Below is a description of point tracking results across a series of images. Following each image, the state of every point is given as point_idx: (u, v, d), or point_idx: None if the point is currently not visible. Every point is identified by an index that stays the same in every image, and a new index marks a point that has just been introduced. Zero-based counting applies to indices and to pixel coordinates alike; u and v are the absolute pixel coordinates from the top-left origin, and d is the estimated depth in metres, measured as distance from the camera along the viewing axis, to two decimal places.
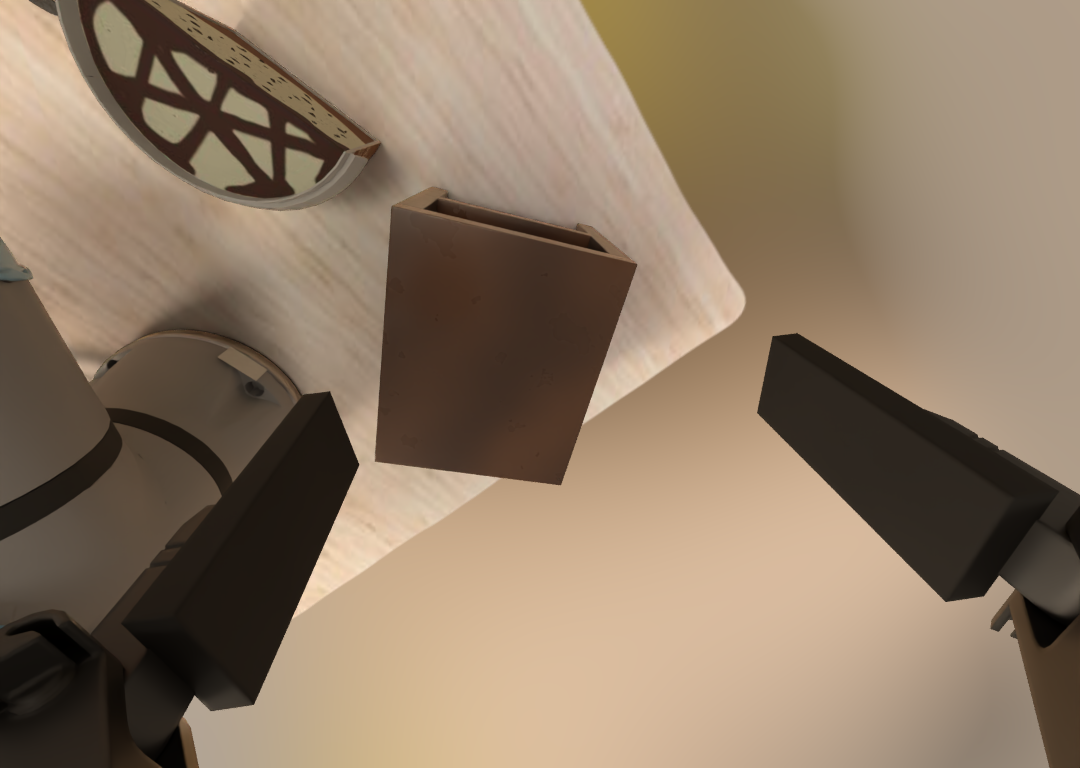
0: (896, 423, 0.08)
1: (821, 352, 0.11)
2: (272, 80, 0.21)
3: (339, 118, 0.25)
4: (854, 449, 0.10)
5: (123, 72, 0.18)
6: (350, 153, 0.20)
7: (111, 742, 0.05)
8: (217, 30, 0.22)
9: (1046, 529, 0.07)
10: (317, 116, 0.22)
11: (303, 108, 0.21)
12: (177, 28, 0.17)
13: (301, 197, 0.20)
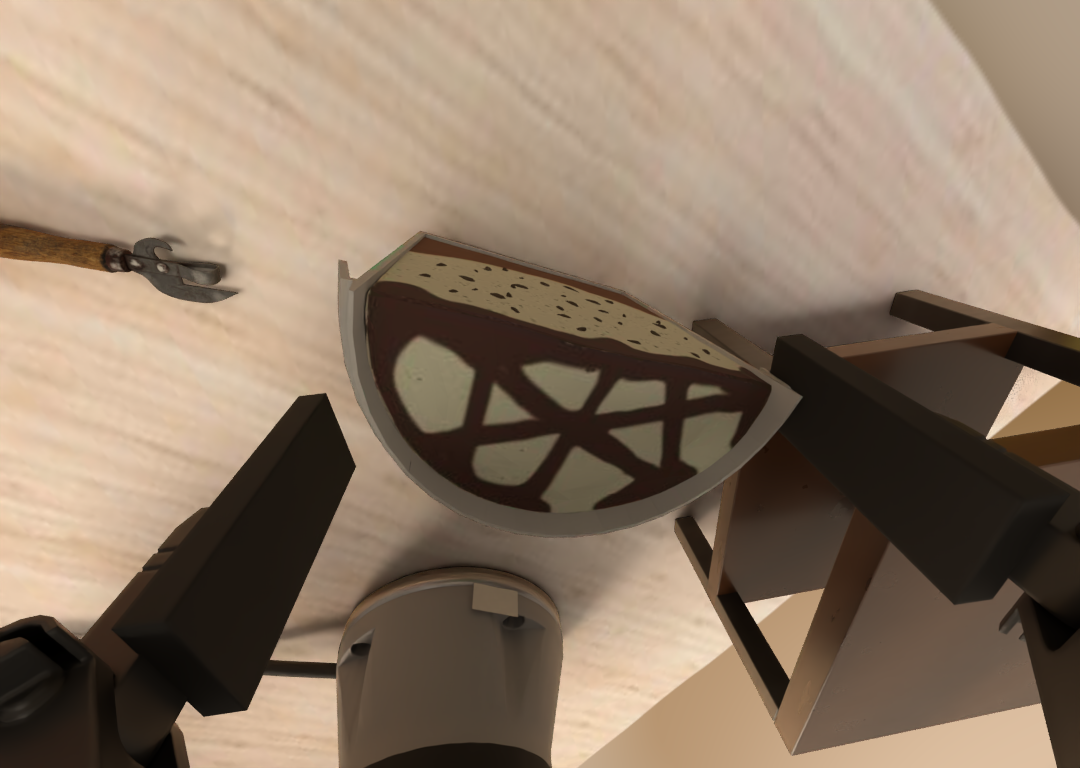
0: (903, 425, 0.08)
1: (826, 353, 0.11)
2: (575, 305, 0.13)
3: (599, 293, 0.17)
4: (860, 451, 0.09)
5: (444, 427, 0.10)
6: (785, 386, 0.12)
7: (100, 749, 0.05)
8: (450, 257, 0.14)
9: (1057, 532, 0.07)
10: (647, 328, 0.14)
11: (643, 331, 0.13)
12: (530, 328, 0.09)
13: None
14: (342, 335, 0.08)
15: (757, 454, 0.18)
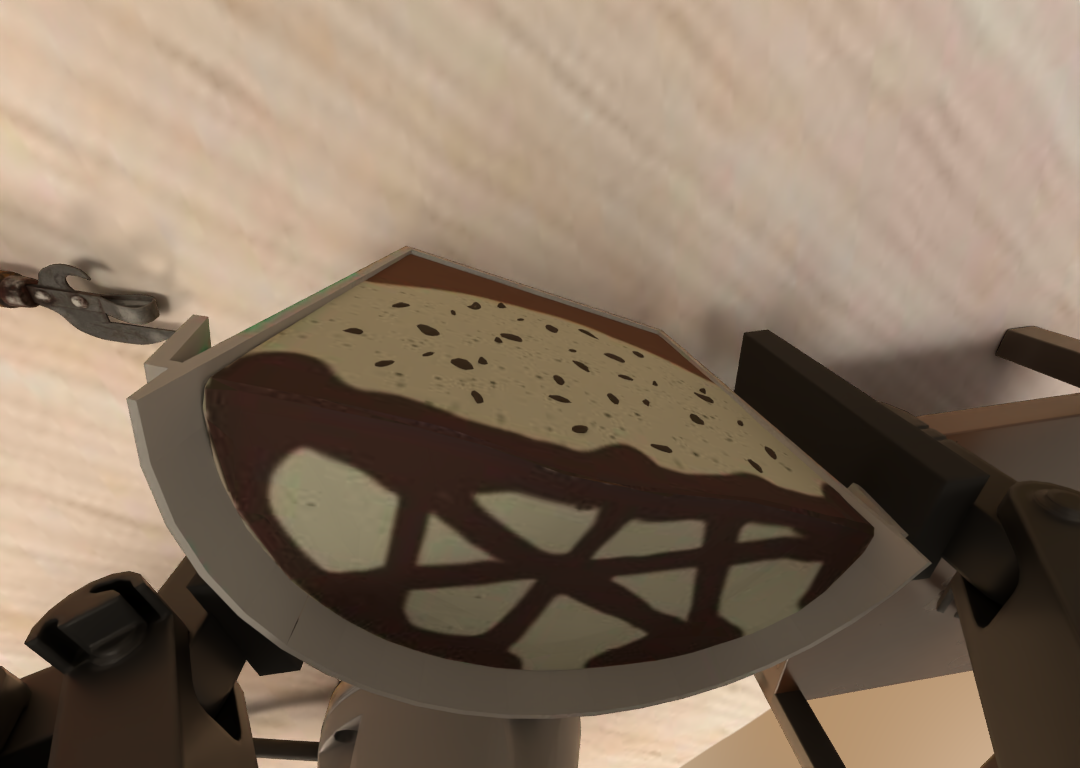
0: (850, 414, 0.09)
1: (788, 347, 0.11)
2: (585, 369, 0.09)
3: (627, 337, 0.13)
4: (815, 440, 0.10)
5: (356, 566, 0.07)
6: (898, 533, 0.07)
7: (179, 699, 0.05)
8: (425, 289, 0.10)
9: (980, 512, 0.07)
10: (686, 406, 0.10)
11: (679, 415, 0.09)
12: (488, 442, 0.06)
13: (757, 637, 0.08)
14: None
15: None
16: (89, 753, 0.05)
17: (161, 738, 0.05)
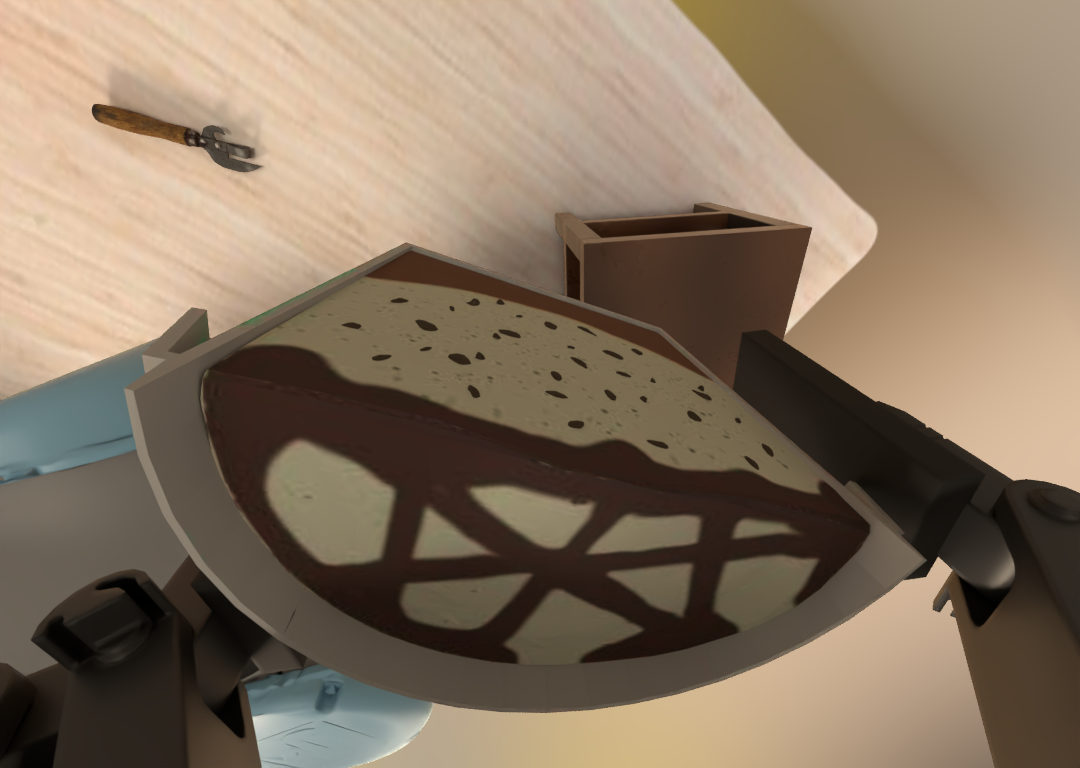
0: (846, 413, 0.09)
1: (785, 347, 0.11)
2: (582, 365, 0.09)
3: (626, 335, 0.13)
4: (812, 440, 0.10)
5: (353, 559, 0.07)
6: (893, 530, 0.07)
7: (184, 696, 0.05)
8: (424, 285, 0.10)
9: (975, 511, 0.07)
10: (684, 403, 0.10)
11: (676, 412, 0.09)
12: (483, 435, 0.06)
13: (753, 633, 0.08)
14: None
15: (577, 288, 0.29)
16: (94, 750, 0.05)
17: (166, 735, 0.05)
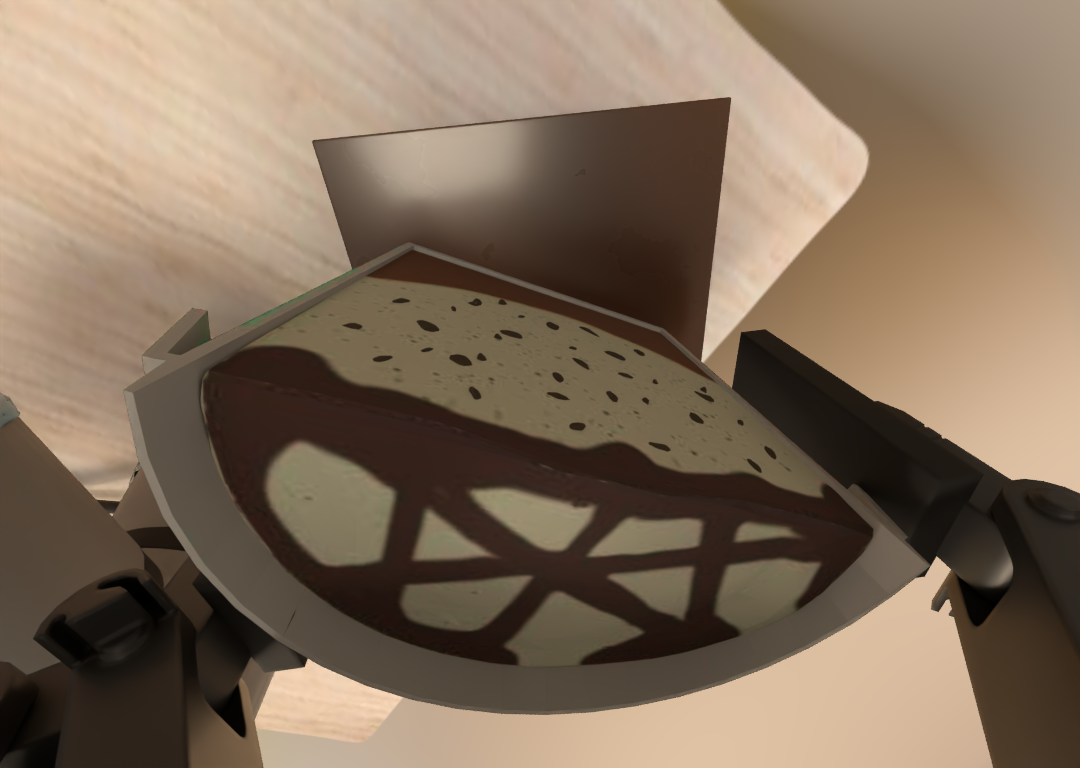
0: (845, 413, 0.09)
1: (784, 347, 0.11)
2: (584, 366, 0.09)
3: (628, 335, 0.13)
4: (811, 439, 0.10)
5: (353, 560, 0.07)
6: (897, 535, 0.07)
7: (185, 695, 0.05)
8: (426, 285, 0.10)
9: (974, 510, 0.07)
10: (686, 404, 0.10)
11: (678, 413, 0.09)
12: (484, 438, 0.06)
13: None
14: None
15: None
16: (97, 749, 0.05)
17: (168, 734, 0.05)
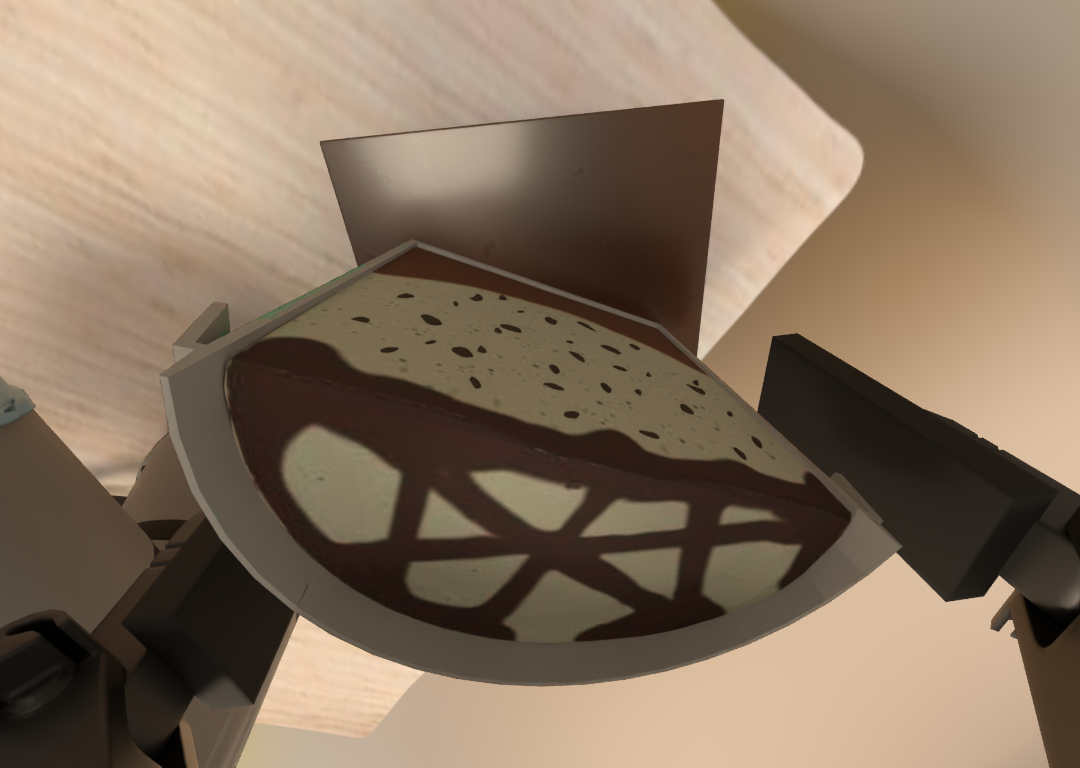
0: (896, 423, 0.08)
1: (821, 352, 0.11)
2: (580, 359, 0.10)
3: (625, 330, 0.13)
4: (854, 449, 0.10)
5: (361, 537, 0.07)
6: (873, 519, 0.08)
7: (111, 742, 0.05)
8: (429, 281, 0.11)
9: (1046, 529, 0.07)
10: (678, 396, 0.10)
11: (670, 404, 0.09)
12: (484, 423, 0.06)
13: None
14: None
15: None
16: None
17: None
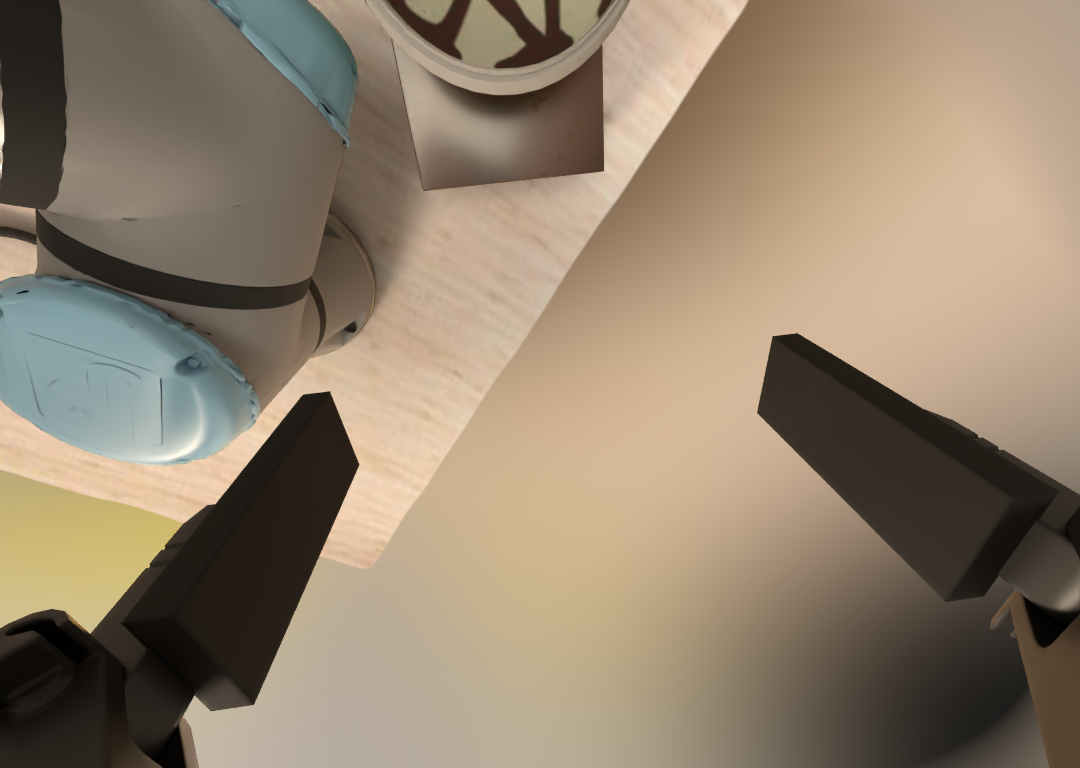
0: (896, 423, 0.08)
1: (821, 352, 0.11)
2: None
3: None
4: (854, 449, 0.10)
5: None
6: None
7: (111, 742, 0.05)
8: None
9: (1046, 529, 0.07)
10: None
11: None
12: None
13: (581, 45, 0.17)
14: None
15: None
16: None
17: None
